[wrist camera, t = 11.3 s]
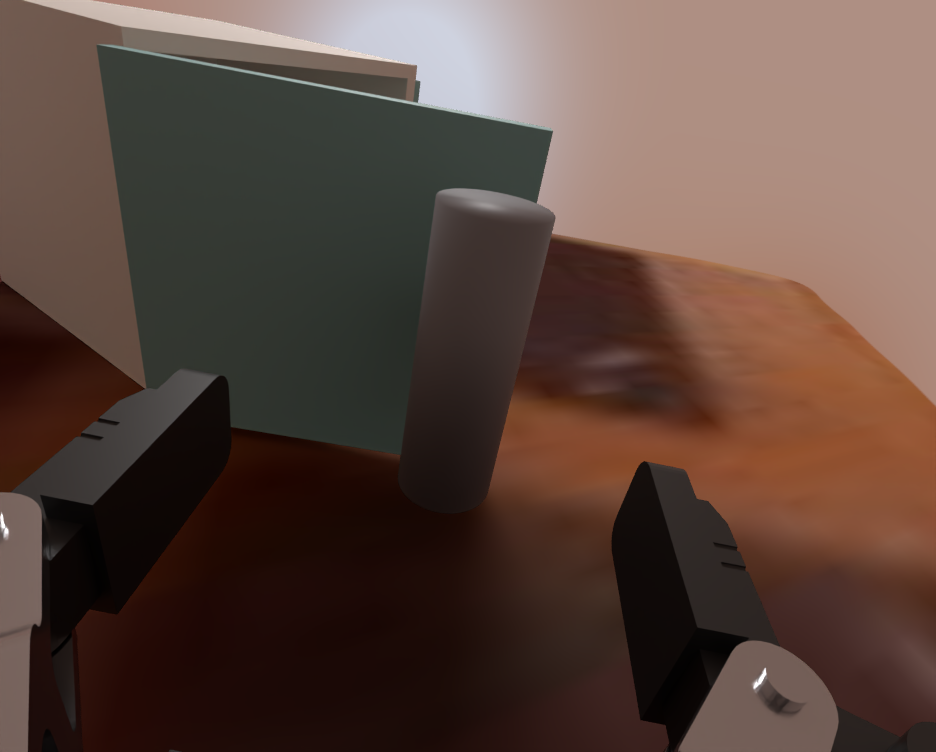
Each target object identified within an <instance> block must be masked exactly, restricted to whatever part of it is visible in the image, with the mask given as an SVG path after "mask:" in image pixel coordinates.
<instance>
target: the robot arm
mask: <svg viewBox="0 0 936 752" xmlns="http://www.w3.org/2000/svg"><path fill="white" fill-rule="evenodd" d="M230 449H231V421H230V401H229V385H228V381H227V379H226V377H225V376H222V375H217V374H212V373H207V372H202V371H197V370H192V369H187V368H182V369H180V370H178V371H177V372H176V373H175V374H173V375H172V376H171V377H170V378H169V379H168V380H167V381H166V382H165V383H163V384H162V385H161V386H160V387H159V388H158V389H157V390H156V389H151V388H147V389H144V390H142V391H140V392H138V393H135V394H133V395H131V396H128V397H126V398H124V399H122V400H119V401H118V402H117V403H116V404H115V405H113V406H112V407H111V408H110V409H109V410H108V411H106V412H105V413H104V414H103V415H102V416H100V417H99V420H98V422H93V423H92V424H91V425H90V426H89V427H87V428H86V429H85V430H84V431H83V432H81V436H80V437H75V438H74V439H73V440H72V441H71V442H70V443H68V444H67V445H66V446H65V447H64V448H62V449H61V450H60V451H59V452H58V453H57V454H55V455H54V456H53V457H52V458H51V459H49V460H48V461H47V462H46V463H45V464H43V465H42V466H41V467H40V468H39V469H38V470H36V471H35V472H34V473H33V474H32V475H30V476H29V477H28V478H27V479H26V480H24V481H23V482H22V483H21V484H20V485H19V486H17V487H16V488H15V489H14V490H13V491H11V492H10V493H5V492H0V752H83V742H82V724H81V704H80V685H79V665H78V645H77V634H76V629H75V626H76V625H77V624H78V623H79V621H80V620H81V619H82V618H83V616H84V615H85V614H86V612H87V611H88V610H89V609H91V610H96V611H101V612H107V613H112V614H118V613H119V611H120V610H121V609H122V607H123V606H124V605H125V603H126V602H127V600H128V599H129V598H130V596H131V595H132V594H133V592H134V591H135V590H136V588H137V587H138V585H139V584H140V583H141V581H142V580H143V579H144V577H145V576H146V575H147V573H148V572H149V571H150V569H151V568H152V566H153V565H154V564H155V562H156V561H157V560H158V558H159V557H160V556H161V554H162V553H163V552H164V550H165V549H166V547H167V546H168V545H169V543H170V542H171V541H172V539H173V538H174V537H175V535H176V534H177V532H178V531H179V530H180V528H181V527H182V526H183V524H184V523H185V522H186V520H187V519H188V518H189V516H190V515H191V513H192V512H193V511H194V509H195V508H196V507H197V505H198V504H199V503H200V501H201V500H202V498H203V497H204V496H205V494H206V493H207V492H208V490H209V489H210V488H211V486H212V485H213V484H214V482H215V481H216V479H217V478H218V477H219V475H220V474H221V472H222V471H223V469H224V467H225V465H226V463H227V460H228V457H229V454H230ZM612 555H613V561H614V566H615V572H616V578H617V584H618V590H619V596H620V602H621V608H622V614H623V619H624V625H625V631H626V637H627V643H628V649H629V655H630V661H631V667H632V672H633V678H634V684H635V690H636V696H637V702H638V708H639V714H640V720H643V721H648V722H653V723H658V724H663V725H666V729H667V734H668V739H669V744H668V746H667V747H666V748H665V750H664V751H663V752H936V723H934V722H921V723H917V724H915V725H914V726H912V727H911V728H910V729H909V730H908V731H907V732H906V733H905V734H904V735H902V736H901V737H898V736H896V735H894V734H892V733H890V732H888V731H886V730H884V729H882V728H880V727H878V726H876V725H874V724H872V723H870V722H868V721H866V720H863V719H861V718H859V717H857V716H855V715H853V714H851V713H849V712H847V711H845V710H843V709H841V708H839V707H838V706H836V705H835V703H834V700H833V698H832V696H831V694H830V692H829V691H828V689H827V687H826V686H825V685H824V683H823V682H822V681H821V679H820V678H819V677H818V676H817V675H816V674H815V672H814V671H813V670H812V669H811V668H810V667H808V666H807V665H806V664H805V663H804V662H803V661H801V660H800V659H799V658H798V657H796V656H795V655H793V654H792V653H790V652H788V651H787V650H785V649H783V648H781V647H780V645H779V643H778V641H777V638H776V636H775V634H774V631H773V629H772V627H771V624H770V622H769V620H768V617H767V615H766V613H765V610H764V608H763V606H762V603H761V601H760V599H759V596H758V594H757V592H756V589H755V587H754V585H753V582H752V580H751V578H750V575H749V573H748V572H746V571H745V568H746V566H745V563H744V561H743V559H742V556H741V554H740V552H738V551H737V545H736V542H735V540H734V538H733V535H732V533H731V531H730V528H729V526H728V524H727V522H726V521H725V520H724V519H723V518H722V517H721V516H720V514H719V513H718V512H717V511H716V510H715V509H714V508H713V506H712V505H711V504H710V503H709V502H708V501H704V500H699V499H696V496H695V493H694V491H693V488H692V485H691V483H690V480H689V478H688V475H687V473H686V471H685V470H683V469H680V468H675V467H670V466H665V465H660V464H655V463H650V462H645V461H644V462H642V463H641V464H640V465H639V467H638V468H637V470H636V473H635V475H634V477H633V480H632V482H631V484H630V487H629V489H628V491H627V494H626V496H625V498H624V501H623V503H622V505H621V508H620V510H619V512H618V515H617V517H616V520H615V523H614V527H613V532H612ZM169 752H180V751H175V750H169Z"/></svg>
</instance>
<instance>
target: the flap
mask: <svg viewBox="0 0 936 752" xmlns="http://www.w3.org/2000/svg"><path fill="white" fill-rule="evenodd" d="M96 46H97V53H98V60H99V67H100V73H101V80H102V87H103V94H104V101H105V108H106V115H107V121H108V128H109V135H110V142H111V149H112V156H113V163H114V169H115V176H116V183H117V190H118V197H119V204H120V211H121V218H122V224H123V231H124V238H125V245H126V252H127V259H128V266H129V272H130V279H131V286H132V293H133V300H134V307H135V314H136V320H137V327H138V334H139V341H140V348H141V355H142V362H143V369H144V375H145V382H146V389H147V388H151V389H156V390H157V389H158V388H159V387H160V386H161V385H162V384H163V383H165V382H166V381H167V380H168V379H169V378H170V377H171V376H172V375H173V374H175V373H176V372H177V371H178V370H180V369H182V368H187V369H192V370H197V371H202V372H207V373H212V374H217V375H222V376H225V377H226V379H227V381H228V385H229V401H230V421H231V427H235V428H241V429H247V430H253V431H259V432H265V433H271V434H277V435H283V436H289V437H295V438H301V439H307V440H314V441H320V442H326V443H332V444H338V445H344V446H350V447H356V448H362V449H368V450H374V451H380V452H386V453H393V454H399V455H401V457H400V464H399V471H398V483H399V486H400V488H401V490H402V492H403V493H404V494H405V496H406V497H407V498H408V499H409V500H411V501H412V502H413V503H415V504H416V505H418V506H420V507H422V508H424V509H427V510H430V511H433V512H438V513H449V514H452V513H461V512H465V511H469V510H471V509H473V508H475V507H477V506H478V505H479V504H481V503H482V502H483V500H484V499H485V498H486V496H487V493H488V490H489V486H490V481H491V477H492V473H493V469H494V465H495V461H496V457H497V453H498V449H499V445H500V441H501V437H502V433H503V429H504V425H505V421H506V417H507V413H508V408H509V404H510V400H511V396H512V392H513V388H514V384H515V380H516V376H517V372H518V368H519V364H520V360H521V356H522V352H523V348H524V344H525V340H526V336H527V331H528V327H529V323H530V319H531V315H532V311H533V307H534V303H535V299H536V295H537V291H538V287H539V283H540V279H541V275H542V271H543V267H544V263H545V258H546V254H547V250H548V246H549V242H550V238H551V234H552V230H553V226H554V222H555V215H554V214H553V212H551V211H550V210H549V209H547V208H545V207H543V206H541V205H539V204H537V199H538V195H539V191H540V186H541V181H542V177H543V173H544V168H545V164H546V159H547V155H548V151H549V146H550V142H551V137H552V133H553V131H552V129H551V128H547V127H542V126H537V125H532V124H526V123H521V122H515V121H511V120H505V119H500V118H495V117H490V116H484V115H479V114H474V113H468V112H463V111H458V110H453V109H447V108H442V107H437V106H432V105H427V104H421V103H416V102H411V101H406V100H401V99H395V98H390V97H385V96H380V95H374V94H369V93H364V92H359V91H353V90H348V89H343V88H338V87H332V86H327V85H322V84H317V83H311V82H306V81H301V80H296V79H290V78H285V77H280V76H275V75H269V74H264V73H259V72H254V71H248V70H243V69H238V68H233V67H227V66H222V65H217V64H212V63H206V62H201V61H196V60H191V59H185V58H180V57H175V56H170V55H164V54H159V53H154V52H149V51H143V50H138V49H133V48H128V47H122V46H117V45H103V44H96Z"/></svg>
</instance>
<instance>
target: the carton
mask: <svg viewBox="0 0 936 752" xmlns="http://www.w3.org/2000/svg"><path fill="white" fill-rule="evenodd" d="M96 44H103V45H117V46H122V47H128V48H133V49H138V50H143V51H149V52H154V53H159V54H164V55H170V56H175V57H180V58H185V59H191V60H196V61H201V62H206V63H212V64H217V65H222V66H227V67H233V68H238V69H243V70H248V71H254V72H259V73H264V74H269V75H275V76H280V77H285V78H290V79H296V80H301V81H306V82H311V83H317V84H322V85H327V86H332V87H338V88H343V89H348V90H353V91H359V92H364V93H369V94H374V95H380V96H385V97H390V98H395V99H401V100H406V101H411V102H416V103H418V97H419V88H420V81H416V70H417V65H411V64H408V63H403V62H399V61H394V60H390V59H385V58H381V57H376V56H372V55H367V54H363V53H359V52H354V51H350V50H345V49H341V48H336V47H332V46H327V45H323V44H318V43H314V42H310V41H306V40H301V39H297V38H292V37H288V36H283V35H279V34H274V33H270V32H266V31H261V30H257V29H252V28H248V27H243V26H239V25H234V24H230V23H226V22H221V21H216V20H210V19H204V18H197V17H191V16H185V15H179V14H173V13H166V12H160V11H154V10H148V9H141V8H135V7H129V6H123V5H116V4H110V3H104V2H98V1H92V0H0V275H1V279H2V281H3V282H5V283H6V284H7V285H9V286H10V287H11V288H12V289H14V290H15V291H16V292H18V293H19V294H20V295H22V296H23V297H24V298H26V299H27V300H28V301H30V302H31V303H32V304H34V305H35V306H36V307H38V308H39V309H40V310H42V311H43V312H44V313H46V314H47V315H48V316H49V317H51V318H52V319H53V320H55V321H56V322H57V323H59V324H60V325H61V326H63V327H64V328H65V329H67V330H68V331H69V332H71V333H72V334H73V335H75V336H76V337H77V338H79V339H80V340H81V341H83V342H84V343H85V344H87V345H88V346H89V347H90V348H92V349H93V350H94V351H96V352H97V353H98V354H100V355H101V356H102V357H104V358H105V359H106V360H108V361H109V362H110V363H112V364H113V365H114V366H116V367H117V368H118V369H120V370H121V371H122V372H124V373H125V374H126V375H127V376H129V377H130V378H131V379H133V380H134V381H135V382H137V383H138V384H139V385H141V386H142V387H143V388H145V389H146V382H145V375H144V369H143V362H142V355H141V348H140V341H139V334H138V327H137V320H136V314H135V307H134V300H133V293H132V286H131V279H130V272H129V266H128V259H127V252H126V245H125V238H124V231H123V224H122V218H121V211H120V204H119V197H118V190H117V183H116V176H115V169H114V163H113V156H112V149H111V142H110V135H109V128H108V121H107V115H106V108H105V101H104V94H103V87H102V80H101V73H100V67H99V60H98V53H97V46H96Z"/></svg>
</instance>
